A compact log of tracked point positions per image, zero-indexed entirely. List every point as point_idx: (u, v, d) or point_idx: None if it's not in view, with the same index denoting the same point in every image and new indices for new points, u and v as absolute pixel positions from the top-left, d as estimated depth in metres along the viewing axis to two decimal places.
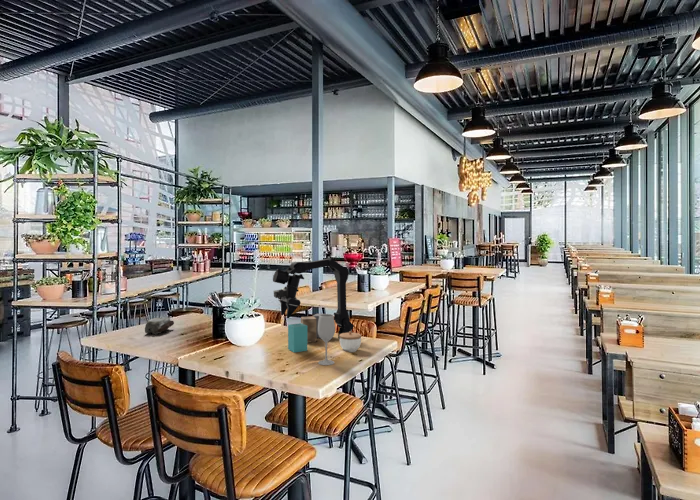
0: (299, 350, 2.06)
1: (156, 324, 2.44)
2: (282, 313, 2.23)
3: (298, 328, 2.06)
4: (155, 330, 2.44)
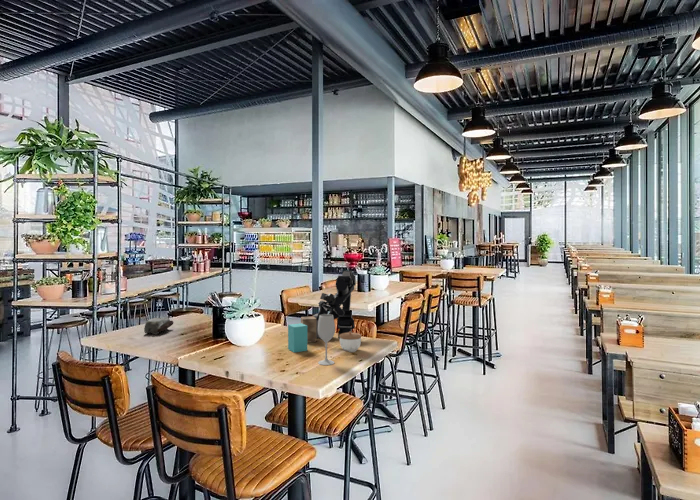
0: (299, 350, 2.06)
1: (155, 324, 2.44)
2: (317, 318, 2.20)
3: (298, 328, 2.06)
4: (154, 330, 2.44)
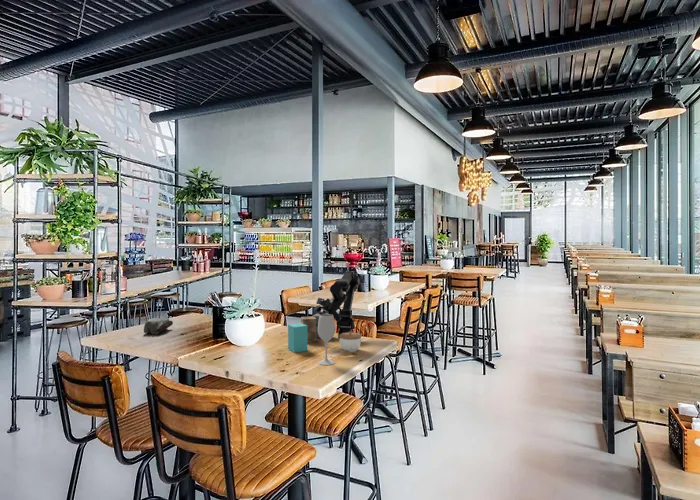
0: (299, 350, 2.06)
1: (155, 324, 2.44)
2: None
3: (298, 328, 2.06)
4: (154, 330, 2.44)
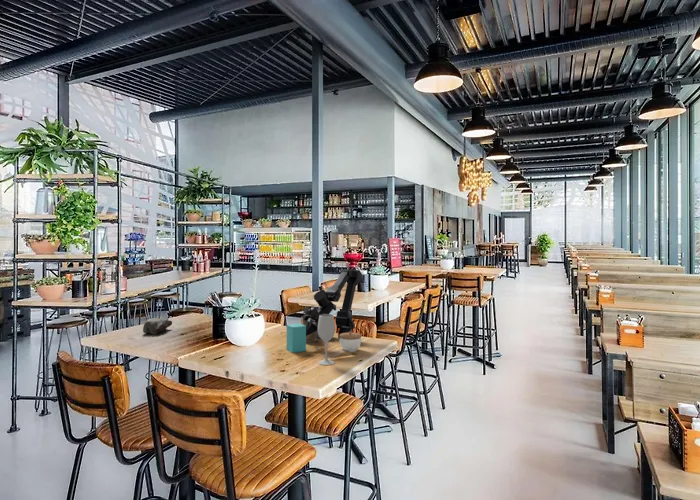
0: (297, 350, 2.06)
1: (154, 324, 2.44)
2: None
3: (296, 328, 2.05)
4: (153, 330, 2.44)
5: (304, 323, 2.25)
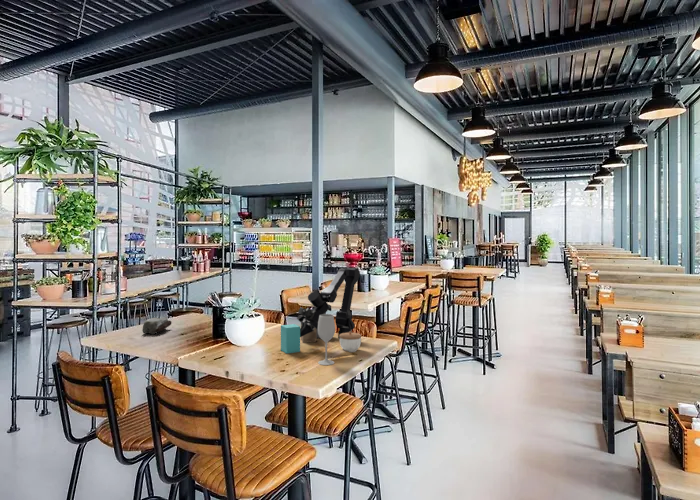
0: (292, 351, 2.04)
1: (154, 324, 2.44)
2: None
3: (291, 329, 2.04)
4: (153, 330, 2.44)
5: None
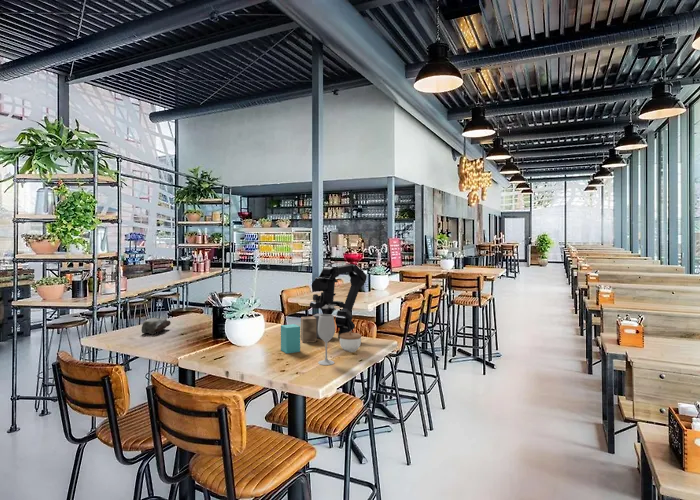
0: (292, 351, 2.04)
1: (153, 324, 2.44)
2: None
3: (291, 329, 2.04)
4: (152, 330, 2.44)
5: (304, 323, 2.25)
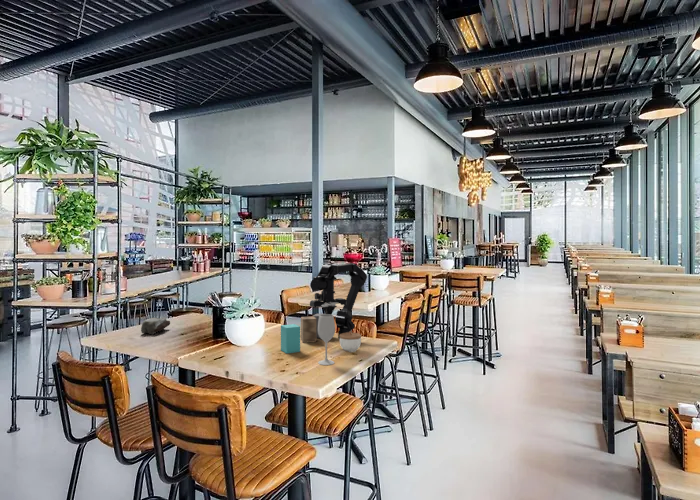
0: (292, 351, 2.04)
1: (152, 324, 2.44)
2: None
3: (291, 329, 2.04)
4: (151, 330, 2.43)
5: (304, 323, 2.25)
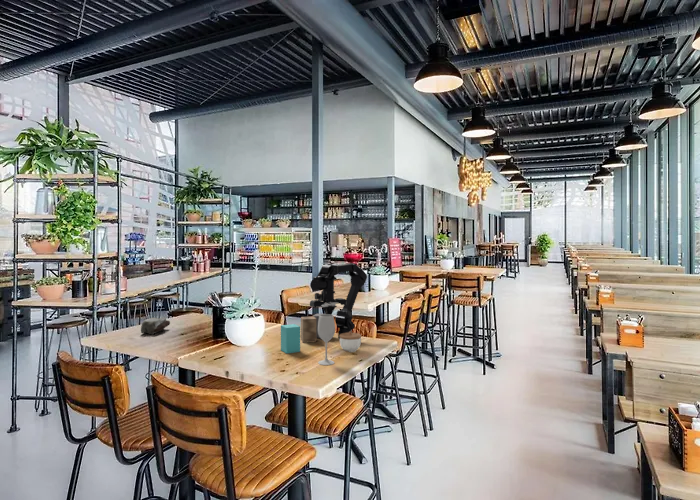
0: (292, 351, 2.04)
1: (152, 324, 2.44)
2: None
3: (291, 329, 2.04)
4: (151, 330, 2.43)
5: (304, 323, 2.25)
